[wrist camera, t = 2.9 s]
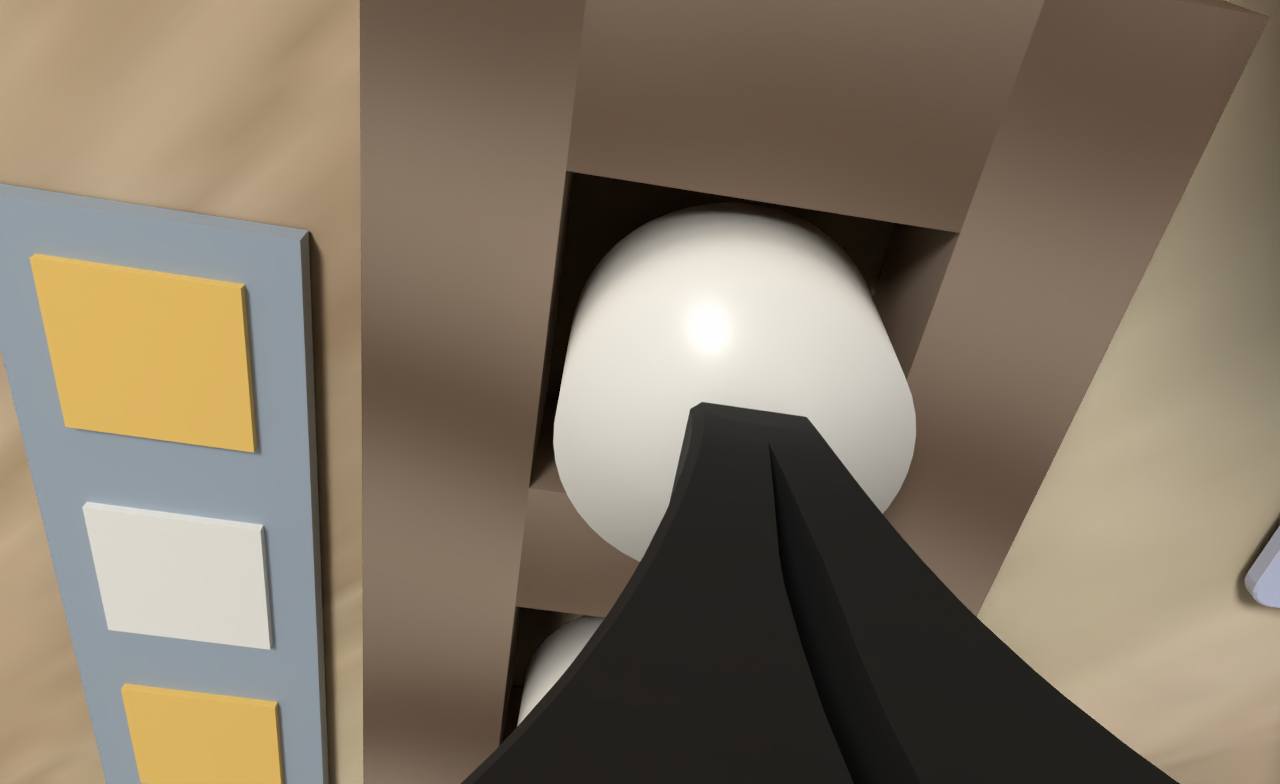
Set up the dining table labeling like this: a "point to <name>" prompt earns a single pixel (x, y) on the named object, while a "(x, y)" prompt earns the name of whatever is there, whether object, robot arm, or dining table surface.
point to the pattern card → (174, 478)
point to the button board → (748, 169)
